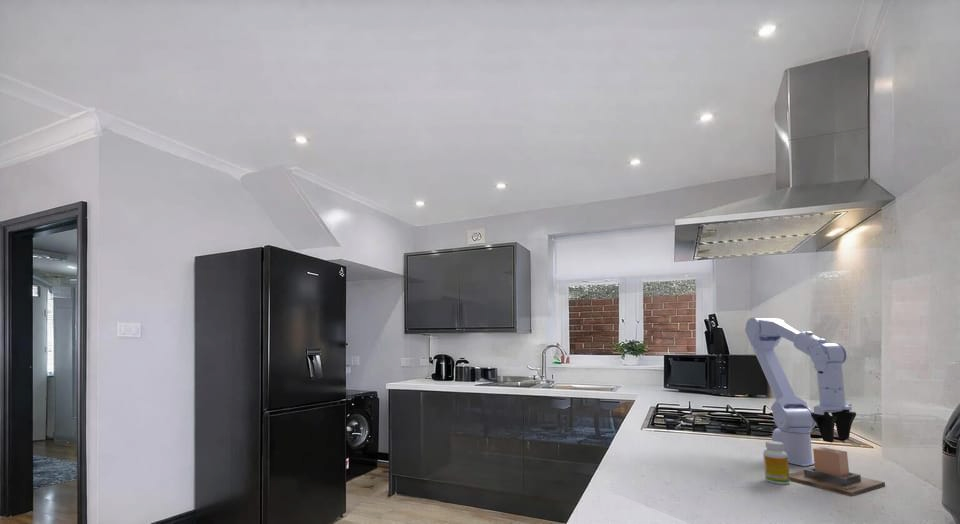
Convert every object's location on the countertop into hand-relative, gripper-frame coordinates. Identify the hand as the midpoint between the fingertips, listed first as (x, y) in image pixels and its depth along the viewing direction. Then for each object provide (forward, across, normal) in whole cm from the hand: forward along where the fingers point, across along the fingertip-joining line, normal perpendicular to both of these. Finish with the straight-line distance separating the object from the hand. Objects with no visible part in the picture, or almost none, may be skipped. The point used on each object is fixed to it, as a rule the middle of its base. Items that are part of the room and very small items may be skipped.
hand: (836, 440), depth 131 cm
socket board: (+9, -7, -2) cm, 12 cm away
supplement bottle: (+10, -19, +5) cm, 22 cm away
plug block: (+8, -7, -2) cm, 11 cm away
